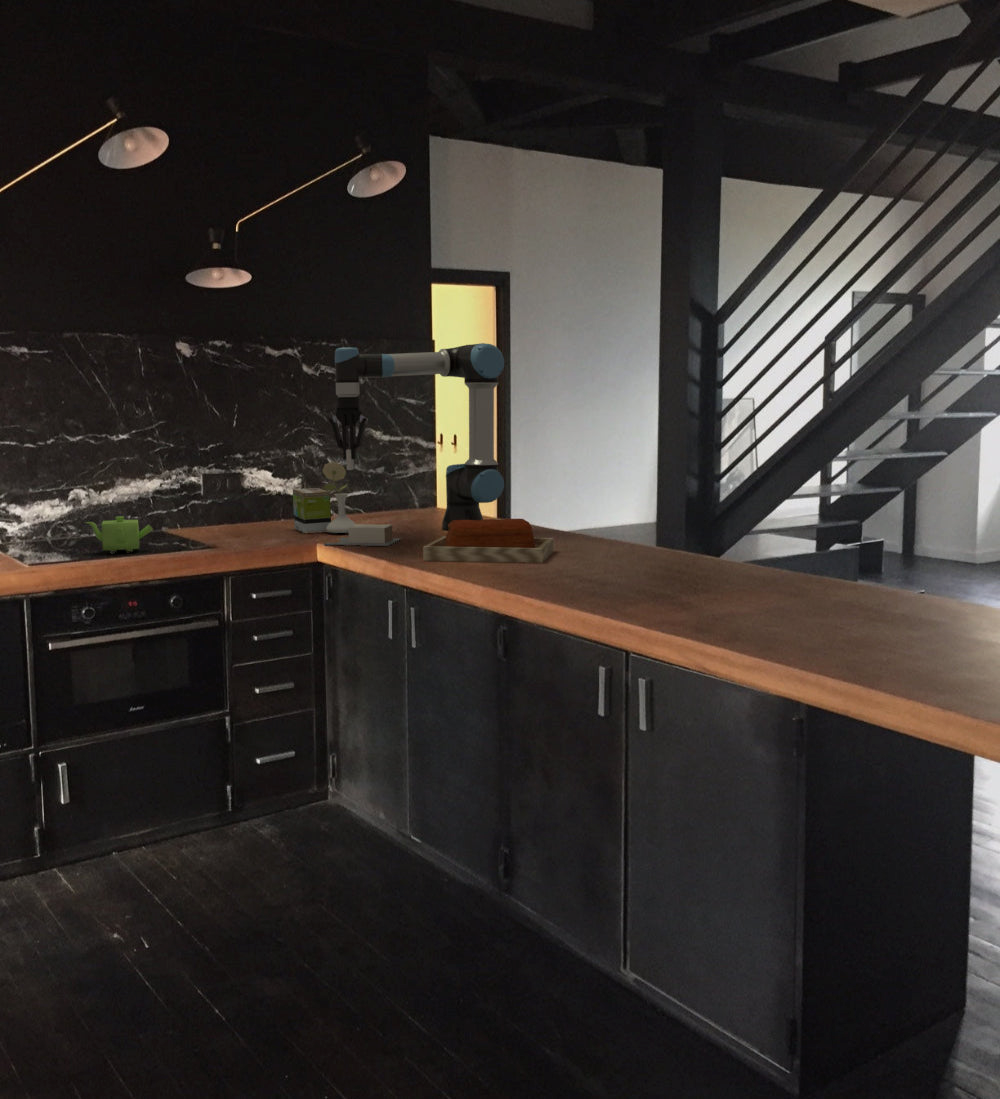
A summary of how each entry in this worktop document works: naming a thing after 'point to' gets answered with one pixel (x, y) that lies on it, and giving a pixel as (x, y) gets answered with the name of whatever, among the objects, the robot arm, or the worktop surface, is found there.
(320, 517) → the tea box
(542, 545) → the wooden tray
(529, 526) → the bread
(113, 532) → the kettle
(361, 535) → the block
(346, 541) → the mat
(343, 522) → the flower in vase
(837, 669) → the worktop surface
